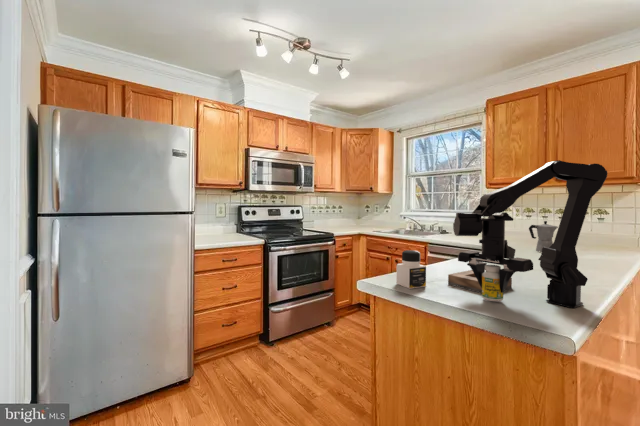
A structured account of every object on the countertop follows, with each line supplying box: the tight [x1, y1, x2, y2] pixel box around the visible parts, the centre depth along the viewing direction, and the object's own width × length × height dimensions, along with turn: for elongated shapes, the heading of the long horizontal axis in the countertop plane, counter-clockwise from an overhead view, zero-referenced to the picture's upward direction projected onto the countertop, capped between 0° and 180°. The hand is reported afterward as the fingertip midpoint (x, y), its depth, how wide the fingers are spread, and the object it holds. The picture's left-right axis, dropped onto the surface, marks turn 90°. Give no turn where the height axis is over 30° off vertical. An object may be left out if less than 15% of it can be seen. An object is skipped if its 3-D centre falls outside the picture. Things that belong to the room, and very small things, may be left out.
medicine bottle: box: [396, 249, 427, 290], centre depth 104 cm, size 7×7×12 cm
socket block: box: [447, 269, 513, 294], centre depth 103 cm, size 14×14×4 cm
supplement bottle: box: [481, 264, 504, 302], centre depth 87 cm, size 5×5×10 cm
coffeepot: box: [528, 220, 559, 253], centre depth 181 cm, size 15×9×18 cm, turn 79°
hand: (492, 290), depth 87 cm, fingers closed on supplement bottle, 5 cm apart
